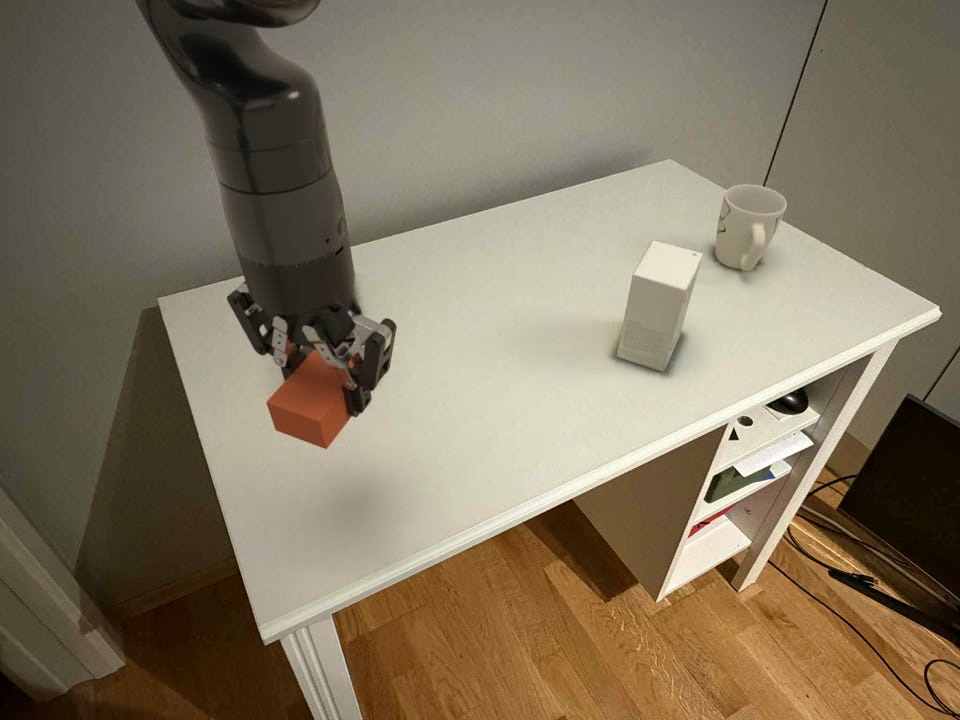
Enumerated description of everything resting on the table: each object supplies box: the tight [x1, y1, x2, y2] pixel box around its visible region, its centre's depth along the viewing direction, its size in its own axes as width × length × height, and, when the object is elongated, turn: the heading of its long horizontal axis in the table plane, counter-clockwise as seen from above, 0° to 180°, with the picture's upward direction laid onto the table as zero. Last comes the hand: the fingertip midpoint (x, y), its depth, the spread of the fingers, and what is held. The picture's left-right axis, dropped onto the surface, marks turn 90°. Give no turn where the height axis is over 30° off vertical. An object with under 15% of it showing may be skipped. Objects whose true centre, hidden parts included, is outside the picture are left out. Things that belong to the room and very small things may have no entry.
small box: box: [616, 240, 704, 372], centre depth 78 cm, size 8×6×13 cm
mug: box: [714, 183, 787, 272], centre depth 92 cm, size 11×8×10 cm
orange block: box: [265, 342, 365, 450], centre depth 54 cm, size 9×5×4 cm, turn 157°
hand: (330, 399), depth 55 cm, fingers closed on orange block, 5 cm apart
